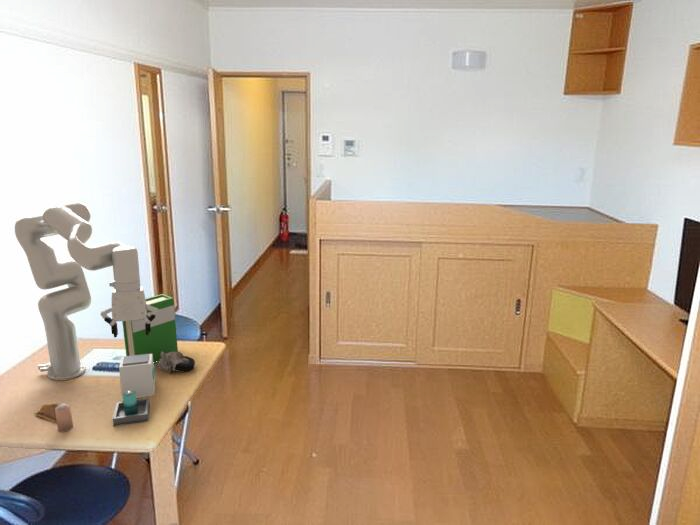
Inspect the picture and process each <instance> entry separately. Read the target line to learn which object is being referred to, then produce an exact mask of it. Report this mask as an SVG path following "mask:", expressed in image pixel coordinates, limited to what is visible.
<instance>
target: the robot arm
mask: <svg viewBox="0 0 700 525" xmlns="http://www.w3.org/2000/svg"><path fill="white" fill-rule="evenodd" d="M90 220H91V211H90V209H89V208H88V206H87V205H86V204H85V203H83V202H81V201H68V202H63V203H54V204H51V205H49V206H48V207H46V208H45V209H44V210H43V211H42V212H38V213H37V212H36V213H32V214H31V213H30V214H27V215H26V214H25V215H24V216H22V217H20V218H18V219H17V220H16V222H15V224H14V235H15V237H16V240H17V242H18V243H19V245H20V246H21V248H22V249H23V252H24V254H25V256H26V257H27V261H28V264H29V267H30V270H31V274H32V276H33V279H34V282H35V285H36V286H37V287H38V288H39V289H41V290H50V289H55V288H58V287H59V288H60V287H63V286H66V285H67V286H68V287H67V288H64V289H60V290H59V289H58V290H55V291H52V292H49V293H47V294H45V295H43V296H42V297H40V299H39V300H38V303H37V307H38V312H39V313H40V314H39V315H40V316H41V319H42V322H43V327H44V333H45V337H46V341H47V350H48V355H49V362H48V363H43V364H42V363H41V364H38V366H37V368H38V371H40V372H43V373H44V372H47V374H46V375H47V377H48V379H49V380H52V381H67V380H70V379H74V378H76V377H80V376H81V375H82V374H84V373H85V371H86V369H87V368H86V365H85V364H84V363H82V362H81V358H80V350H79V344H78V336H77V331H76V326H75V324H74V323H73V321H71V320H70V319H69V318H68V316H70V315H72V314H76V313H78V312H81V311H84V310H86V309H88V308H89V307H90V305H91V303H92V297H91V292H90V288H89V286H88V283H87V279H86V276H85V272H84V269H85V270H88V271H90V272H91V271H93V272H94V271H98V270H102V269H105V268H110V267H112V272H113V273H112V274H113V281H111V282H109V287H112V288H113V290H111V306H110V307H108V308H106V309H104V310H102V311H101V312H100V316H101V317H102V319H103V320H104V322H105V323H107V324H109V326H110V328H111V329H110V330H111V334H112V335H113V338H117V336H118V334H119V331H118V323H117V322H122V321H135V320H144V321H145V322H146V323H145V330H146V335H148V334H149V332H151V323H150V322H151V321H152V320H153V319H154V318H155V317H156V315H157V313H158V308H155V307H153V306H150V305H148V304H146V296H145V291H144V288H143V286H141V278H140V277H141V276H140V264H139V263H140V262H139V252H138V249H137V248H136V247H134V246H130V245H126V244H124V243H122V242H121V241H115V240H114V241H110V242H106V243H100V244H97V245H96V244H95V245H92V246H87V245H86V244H85V243H86V242H87V241H88V240H90V238H91V236H92V234H93V228H92V225H91V224H90V223H89V222H90ZM56 235H59V236H61V237H62V238H64V239H65V240H66V242H67V244H66V245H67V250H68V253H69V257H64V258H63V257H62V258H59V259H58V258H57V256H56V254H55V250H54V248H53V246H51V244H50V243H48V242H47V241H46V240H45V239H43V238H46V237H53V236H56ZM83 268H84V269H83ZM147 310H150V311H152V312H153V314H152V315H151V316H150V317H149V316H148V315H147V314H146V313H147ZM110 313H111V317H110V316H109V315H108V314H110Z"/></svg>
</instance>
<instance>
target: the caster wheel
mask: <svg viewBox="0 0 700 525" xmlns="http://www.w3.org/2000/svg"><path fill="white" fill-rule="evenodd" d="M195 364H196V361H195V359H194V358H192V357H190V356H188V355H184V354H183V353H182V352H181V351H179V350H178V351H173V352H169V353H166V354H165V353H164V352H162V351H161V354H160V359H159V361H158V364H157V367H158V368H159V369H161V370H162V371H164V372H165V373H167V374H168V375H170V374H171V370H172V371H176V372H179V373H180V372H181V373H187V372H191V371H193V370H194V369H195Z"/></svg>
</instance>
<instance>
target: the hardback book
mask: <svg viewBox="0 0 700 525" xmlns="http://www.w3.org/2000/svg"><path fill="white" fill-rule="evenodd" d="M145 299H146V304H148V305H150V306H153V307H155V308H158V313H157V315H156V317H155V318H154V319H153V320H152V321H151V322H150V323H151V332H149V334H148V335H146V330H145V323H146V322H145V321H144V320H135V321H121V322H122V329H123V330H122V331H123V339H124V348H125V356H133V355H142V354H152V355H153V362H155V363H157V362H156V361H158V362H159V359H160V354H161V351H162V352H164V353H165V354H166V353H169V352H173V351H178V352H179V350H178V349H179V348H178V338H177V337H178V336H177V325H176V314H175V313H176V312H175V304H174V302H175V301H174V297H171V296H169V295H167V294H165V293H161V294H157V295H154V296H150V297H147V298H146V297H145ZM146 314H147V315H148V316H149V317H150V316H151V315H152V314H153V312H152V311H150V310H147V313H146Z"/></svg>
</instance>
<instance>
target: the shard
mask: <svg viewBox="0 0 700 525" xmlns="http://www.w3.org/2000/svg"><path fill="white" fill-rule="evenodd" d="M61 404H62V403H57V402H56V403H49V404H43V405H41V406H40V408H39V410H38V411H36V412H35V413H34V414H35V416H36V417H40V418H41V417H42V418H44V419H45V420H47V421H50V422H53V423H56V424H57V419H56V413H55V408H56V407H57V406H59V405H61Z"/></svg>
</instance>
